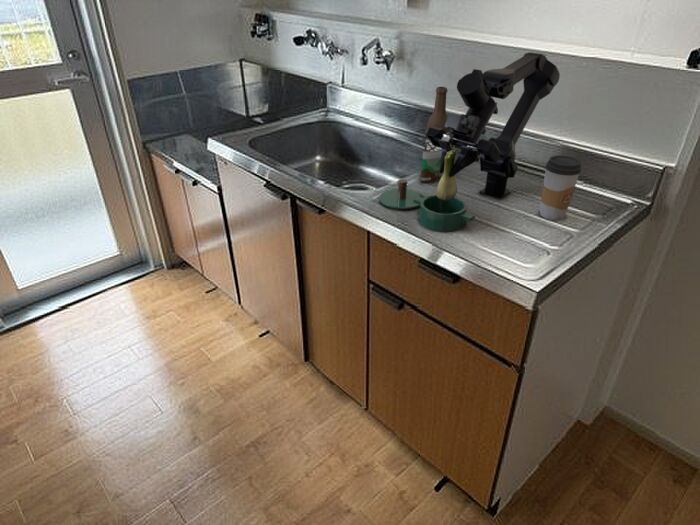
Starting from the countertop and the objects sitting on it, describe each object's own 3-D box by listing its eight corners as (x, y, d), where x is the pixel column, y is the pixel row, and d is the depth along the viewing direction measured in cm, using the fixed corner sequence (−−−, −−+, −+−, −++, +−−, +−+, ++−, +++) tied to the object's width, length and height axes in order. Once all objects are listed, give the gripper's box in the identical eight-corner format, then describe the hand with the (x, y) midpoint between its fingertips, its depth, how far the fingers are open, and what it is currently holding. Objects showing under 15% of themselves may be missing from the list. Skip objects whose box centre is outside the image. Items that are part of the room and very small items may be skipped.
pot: (426, 204, 135) (428, 188, 132) (481, 223, 126) (484, 206, 123) (402, 219, 128) (403, 202, 125) (458, 240, 118) (461, 222, 116)
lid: (396, 188, 144) (397, 168, 141) (432, 200, 137) (434, 180, 134) (370, 202, 136) (370, 181, 133) (406, 215, 130) (408, 194, 126)
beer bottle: (441, 169, 157) (448, 91, 144) (419, 164, 161) (424, 88, 148) (450, 161, 163) (458, 86, 150) (428, 157, 166) (435, 83, 154)
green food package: (441, 186, 146) (444, 153, 140) (420, 184, 147) (422, 152, 141) (442, 170, 156) (446, 140, 151) (423, 169, 157) (425, 138, 152)
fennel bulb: (447, 191, 126) (451, 146, 120) (461, 198, 123) (467, 152, 116) (431, 198, 123) (434, 152, 117) (445, 205, 120) (449, 158, 113)
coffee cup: (552, 225, 125) (566, 168, 117) (528, 212, 131) (539, 158, 123) (575, 218, 128) (590, 163, 120) (551, 205, 134) (563, 152, 126)
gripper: (432, 92, 118) (400, 148, 118) (501, 107, 107) (466, 169, 107) (448, 118, 127) (419, 170, 127) (514, 134, 116) (482, 191, 115)
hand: (444, 174), depth 119 cm, fingers closed on fennel bulb, 2 cm apart
